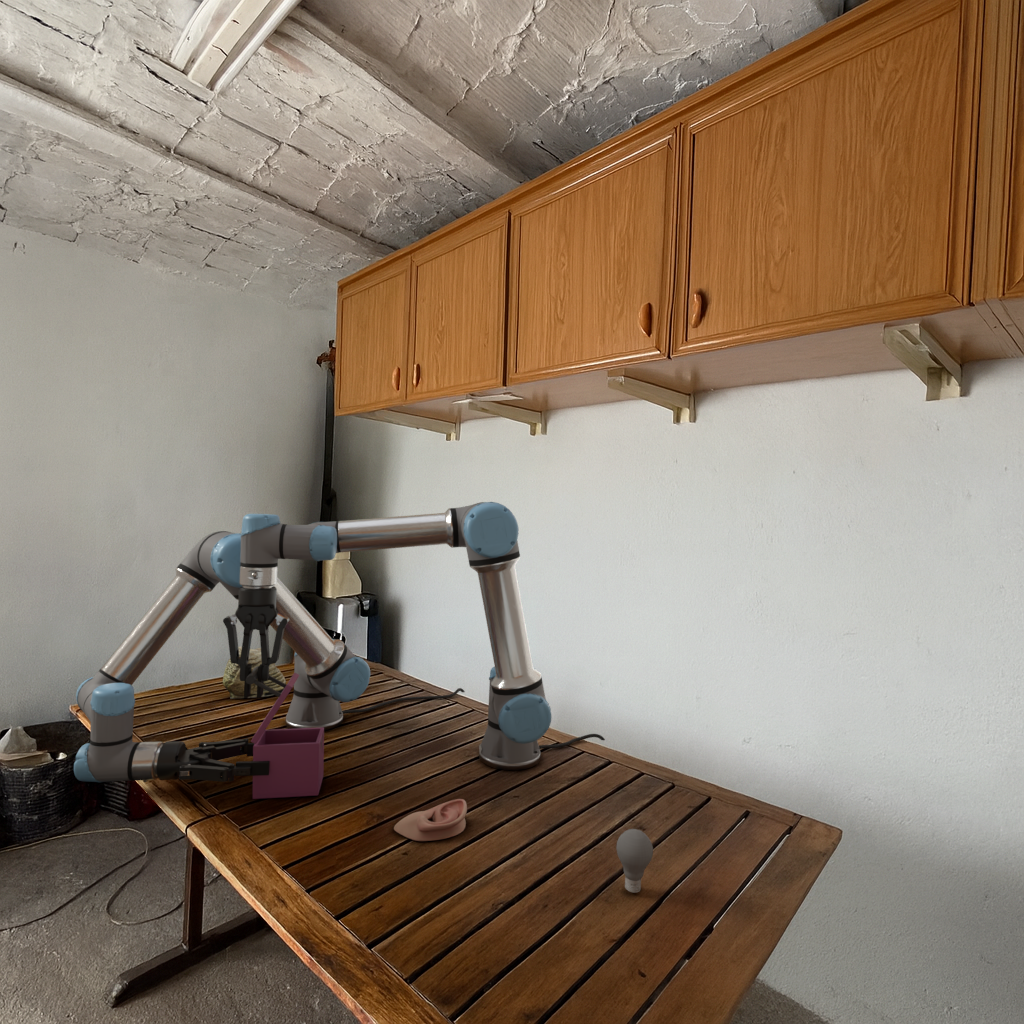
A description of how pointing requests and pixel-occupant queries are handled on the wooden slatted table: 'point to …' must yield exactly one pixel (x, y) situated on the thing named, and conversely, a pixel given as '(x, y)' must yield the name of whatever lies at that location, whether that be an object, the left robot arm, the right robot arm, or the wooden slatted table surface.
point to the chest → (290, 762)
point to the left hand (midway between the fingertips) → (273, 758)
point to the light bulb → (634, 857)
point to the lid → (281, 696)
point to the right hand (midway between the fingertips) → (253, 695)
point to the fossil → (233, 671)
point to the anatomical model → (434, 822)
